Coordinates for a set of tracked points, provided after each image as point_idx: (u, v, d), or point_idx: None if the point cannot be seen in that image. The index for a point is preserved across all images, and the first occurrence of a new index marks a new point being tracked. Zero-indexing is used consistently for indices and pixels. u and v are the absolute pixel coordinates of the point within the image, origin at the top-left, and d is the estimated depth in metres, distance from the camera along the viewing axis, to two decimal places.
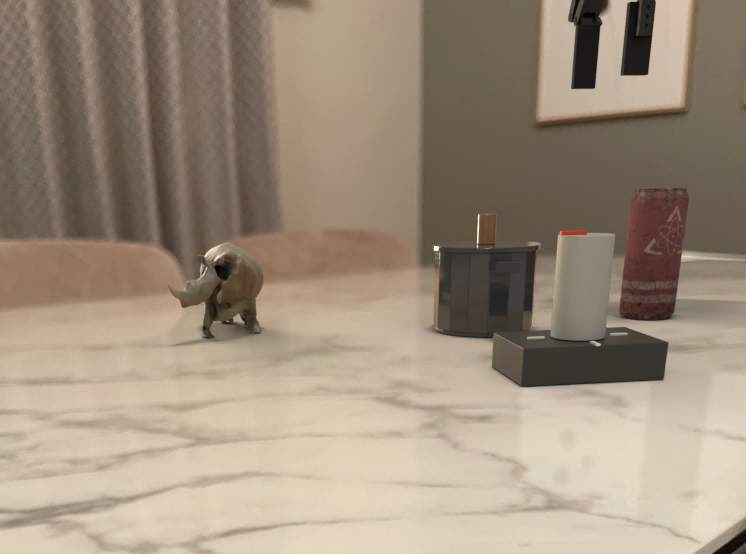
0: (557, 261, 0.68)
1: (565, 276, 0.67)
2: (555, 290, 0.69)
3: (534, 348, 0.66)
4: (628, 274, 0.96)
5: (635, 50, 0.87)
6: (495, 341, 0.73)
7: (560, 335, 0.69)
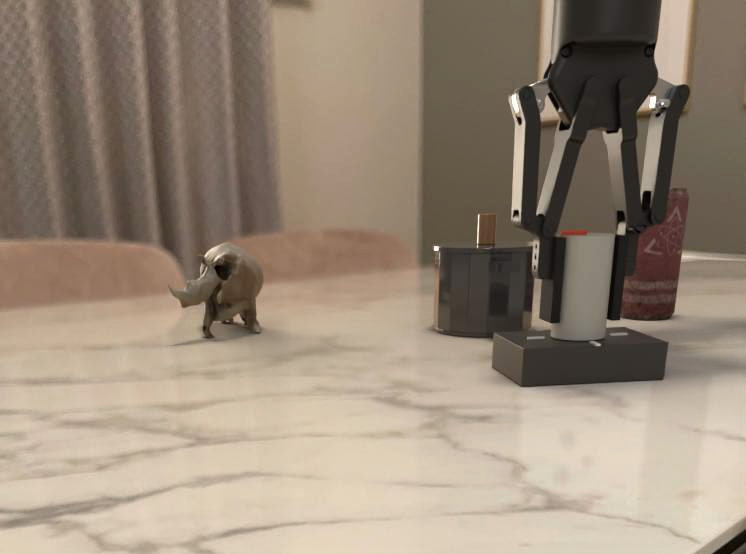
0: None
1: (565, 276, 0.67)
2: None
3: (534, 348, 0.66)
4: None
5: (545, 292, 0.69)
6: (495, 341, 0.73)
7: (560, 335, 0.69)
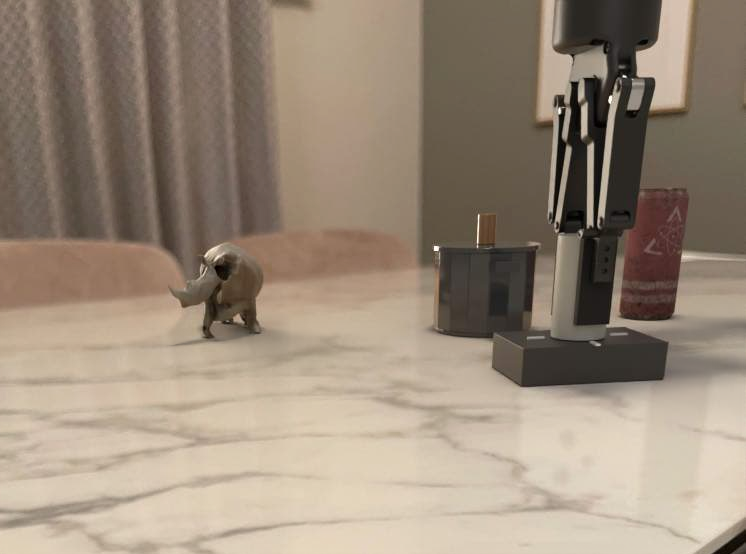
0: None
1: None
2: None
3: (534, 348, 0.66)
4: (628, 274, 0.96)
5: (591, 296, 0.66)
6: (495, 341, 0.73)
7: (599, 335, 0.69)
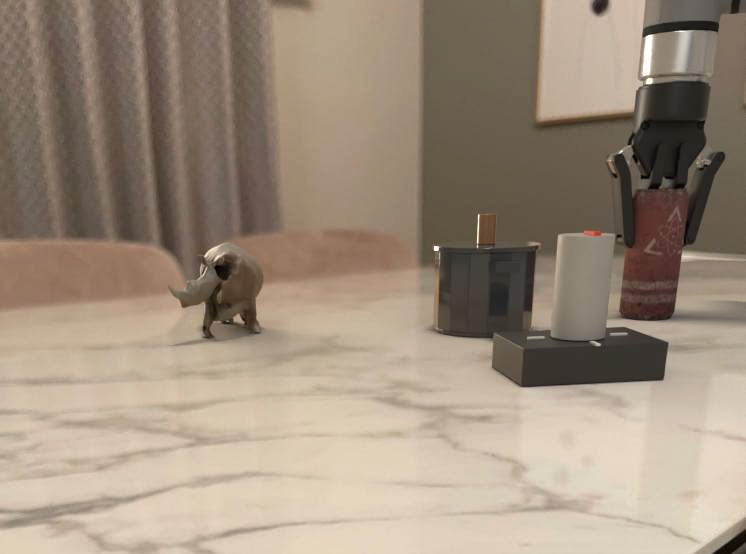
0: (593, 263, 0.66)
1: (605, 276, 0.67)
2: (592, 292, 0.67)
3: (534, 348, 0.66)
4: (628, 274, 0.96)
5: None
6: (495, 341, 0.73)
7: (599, 335, 0.69)
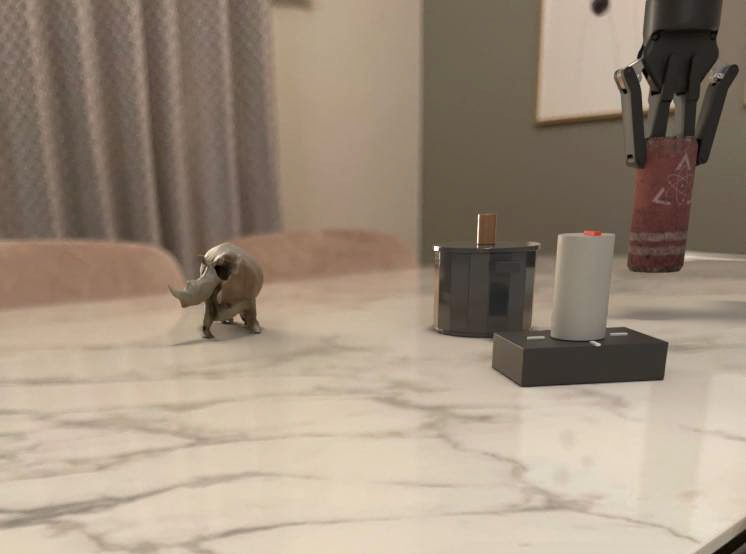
0: (593, 263, 0.66)
1: (605, 276, 0.67)
2: (592, 292, 0.67)
3: (534, 348, 0.66)
4: (636, 226, 0.95)
5: None
6: (495, 341, 0.73)
7: (599, 335, 0.69)
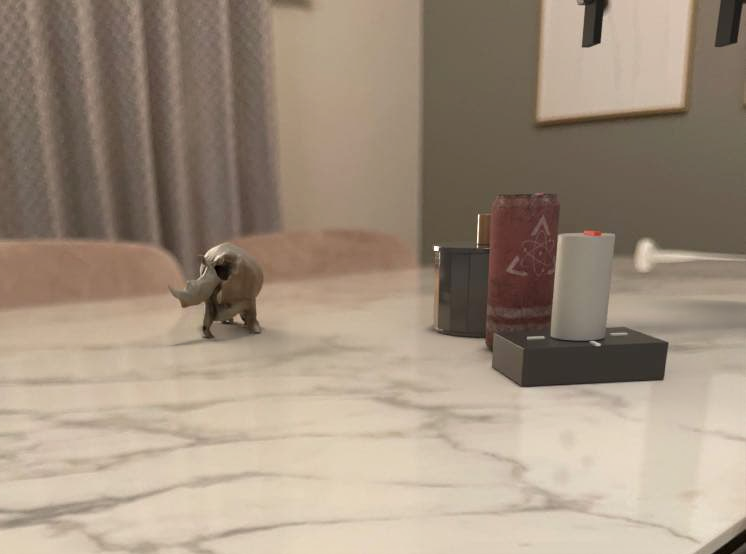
0: (593, 263, 0.66)
1: (605, 276, 0.67)
2: (592, 292, 0.67)
3: (534, 348, 0.66)
4: (491, 298, 0.79)
5: (587, 19, 0.80)
6: (495, 341, 0.73)
7: (599, 335, 0.69)
